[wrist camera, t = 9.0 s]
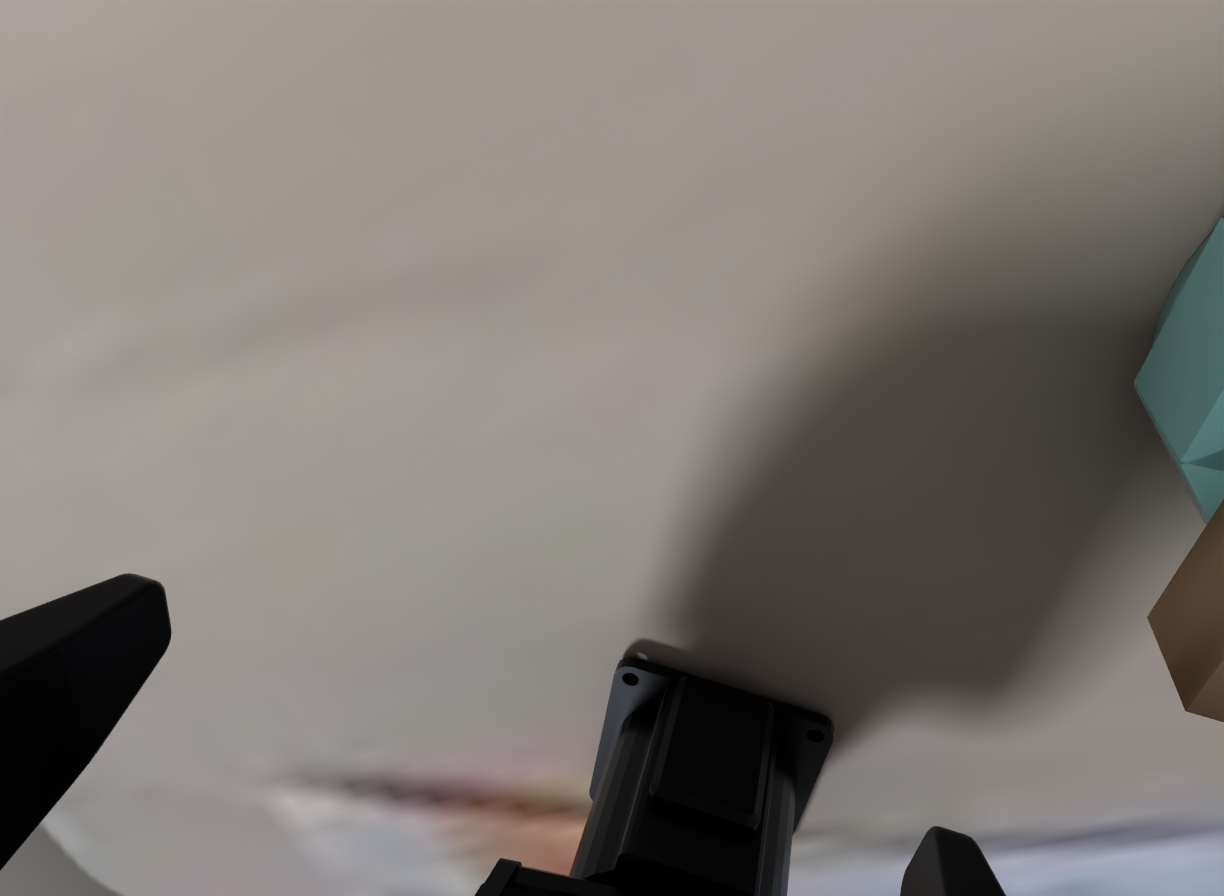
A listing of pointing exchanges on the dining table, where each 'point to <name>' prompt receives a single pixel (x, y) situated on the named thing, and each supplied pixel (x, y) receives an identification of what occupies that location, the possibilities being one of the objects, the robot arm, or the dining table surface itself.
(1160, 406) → the bowl
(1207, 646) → the board
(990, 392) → the dining table surface
